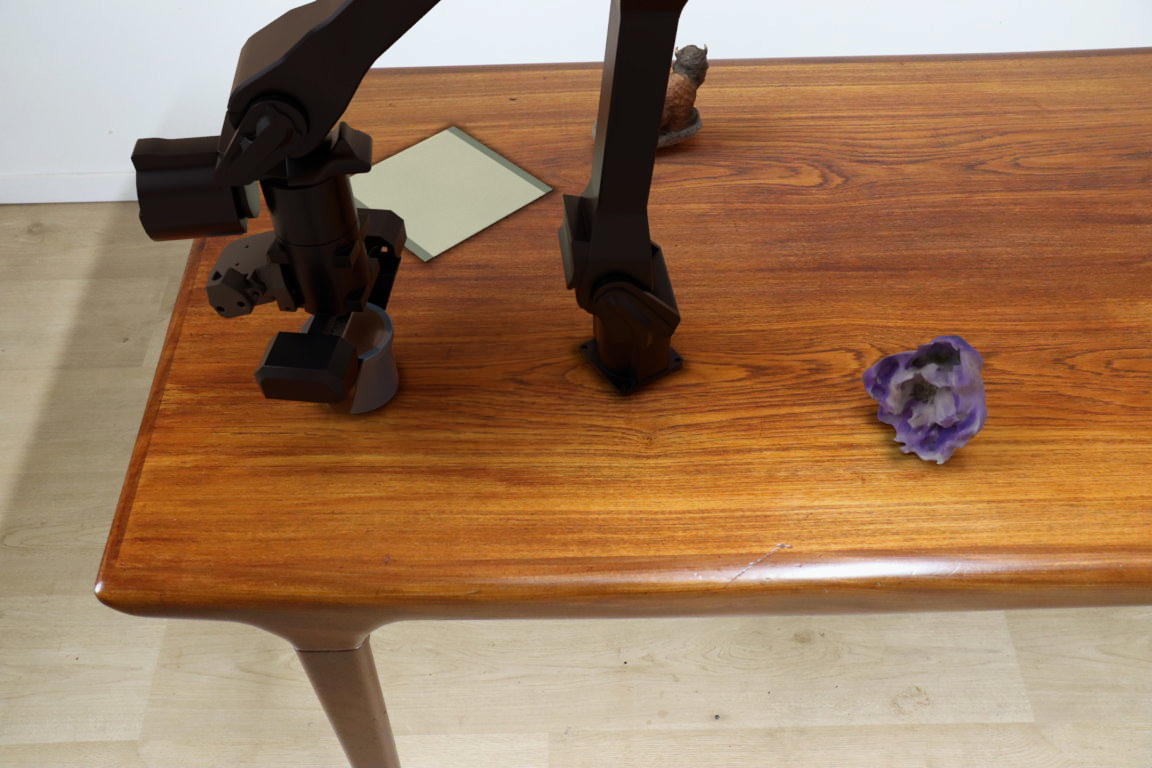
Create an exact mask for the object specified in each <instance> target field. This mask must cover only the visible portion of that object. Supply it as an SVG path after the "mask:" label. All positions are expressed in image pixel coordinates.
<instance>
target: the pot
mask: <svg viewBox="0 0 1152 768" xmlns="http://www.w3.org/2000/svg"><path fill="white" fill-rule="evenodd" d="M313 319H314V315H311V314H310V316H309V317H308V318H307V319H306V320H305V321H304V322H303V324H302V325H301V328H300V329H299V332H298V333H307V332H308V330H309V328H310V325H311V323H312V321H313ZM394 338H395V329H394V324H393V321H392V318H391V316H390V314H388V312H387V311H384V310H383V309H382V308H380V307H378V306H377V305H374V304H372V303H368V302H367V304H366V306H365V309H364V311H363V312H354V314H353V317H352V319H351V322H350V325H349V327H348V330H347V332H346V335H345V337H344V339H346V340H347V341H349V342H350V343H352V344H353V345H355V346H356V350H357V354H358V358H362V359H364V362H363V366H362V370H361V374H360V377H359V382H358V386H357V390H356V394H355V398H354V402H353V406H352V409H351V412H350V414H349V415H359V414H365V413H369V412H373V411H375V410H377V409H379V408H381V407H383V406H384V405H385V404H387V403H388V402H389V401H390V400H391V399H392V398H393V397H394V395H395V394H396V392H397V391H398V388H399V384H400V376H399V372H398V366H397V363H396V359H395V354H394V348H393V343H394ZM324 404H325V405H326V406H328V405H327V404H326V403H324ZM328 407H329V406H328ZM329 408H330V409H332V408H331V407H329Z"/></svg>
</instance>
